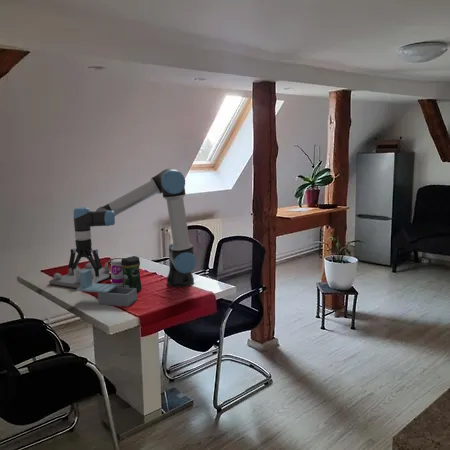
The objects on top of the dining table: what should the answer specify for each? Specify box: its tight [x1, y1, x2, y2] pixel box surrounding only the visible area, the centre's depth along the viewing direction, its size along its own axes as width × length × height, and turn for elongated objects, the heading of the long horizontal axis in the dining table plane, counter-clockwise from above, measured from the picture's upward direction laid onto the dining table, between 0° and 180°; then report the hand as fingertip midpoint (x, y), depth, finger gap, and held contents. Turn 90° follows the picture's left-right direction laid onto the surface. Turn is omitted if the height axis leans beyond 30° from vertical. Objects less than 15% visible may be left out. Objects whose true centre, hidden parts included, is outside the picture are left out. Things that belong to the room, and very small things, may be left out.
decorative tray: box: [48, 261, 110, 290], centre depth 263 cm, size 35×26×10 cm
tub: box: [97, 287, 138, 307], centre depth 224 cm, size 16×10×6 cm, turn 76°
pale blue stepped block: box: [76, 269, 117, 293], centre depth 225 cm, size 17×11×9 cm, turn 76°
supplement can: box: [110, 258, 123, 287], centre depth 248 cm, size 8×8×15 cm
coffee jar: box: [121, 255, 143, 292], centre depth 240 cm, size 10×8×19 cm
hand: (86, 281), depth 227 cm, fingers open, 10 cm apart
